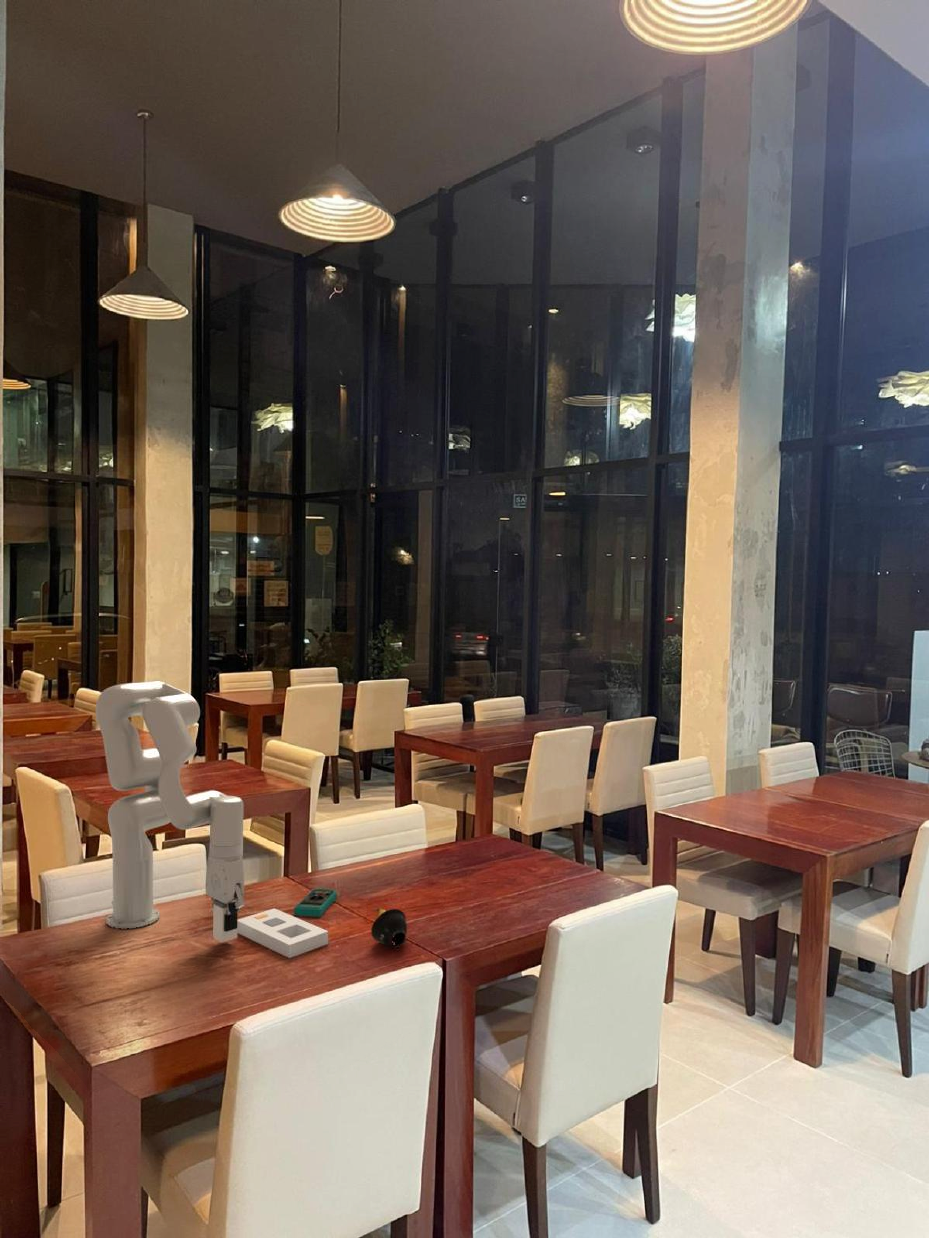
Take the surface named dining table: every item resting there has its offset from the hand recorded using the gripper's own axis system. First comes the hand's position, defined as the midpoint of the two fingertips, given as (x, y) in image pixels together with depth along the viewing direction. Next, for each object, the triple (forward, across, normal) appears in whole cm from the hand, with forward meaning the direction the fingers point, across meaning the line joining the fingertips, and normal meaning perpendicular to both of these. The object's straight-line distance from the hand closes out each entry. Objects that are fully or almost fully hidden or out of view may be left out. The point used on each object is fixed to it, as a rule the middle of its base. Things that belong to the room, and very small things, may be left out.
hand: (225, 926), depth 200 cm
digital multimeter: (+5, -4, +30) cm, 31 cm away
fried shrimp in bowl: (+4, +25, +29) cm, 38 cm away
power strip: (+4, +7, +11) cm, 14 cm away
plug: (+3, 0, 0) cm, 3 cm away
